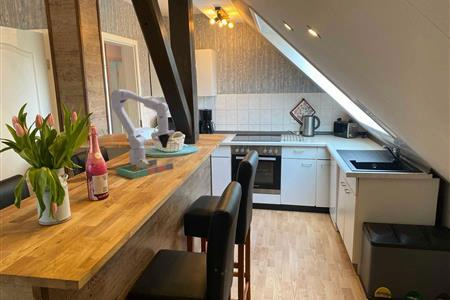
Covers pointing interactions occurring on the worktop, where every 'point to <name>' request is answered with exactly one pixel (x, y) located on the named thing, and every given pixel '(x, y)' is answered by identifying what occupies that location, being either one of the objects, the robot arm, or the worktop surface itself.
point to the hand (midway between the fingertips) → (164, 147)
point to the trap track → (128, 173)
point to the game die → (142, 164)
